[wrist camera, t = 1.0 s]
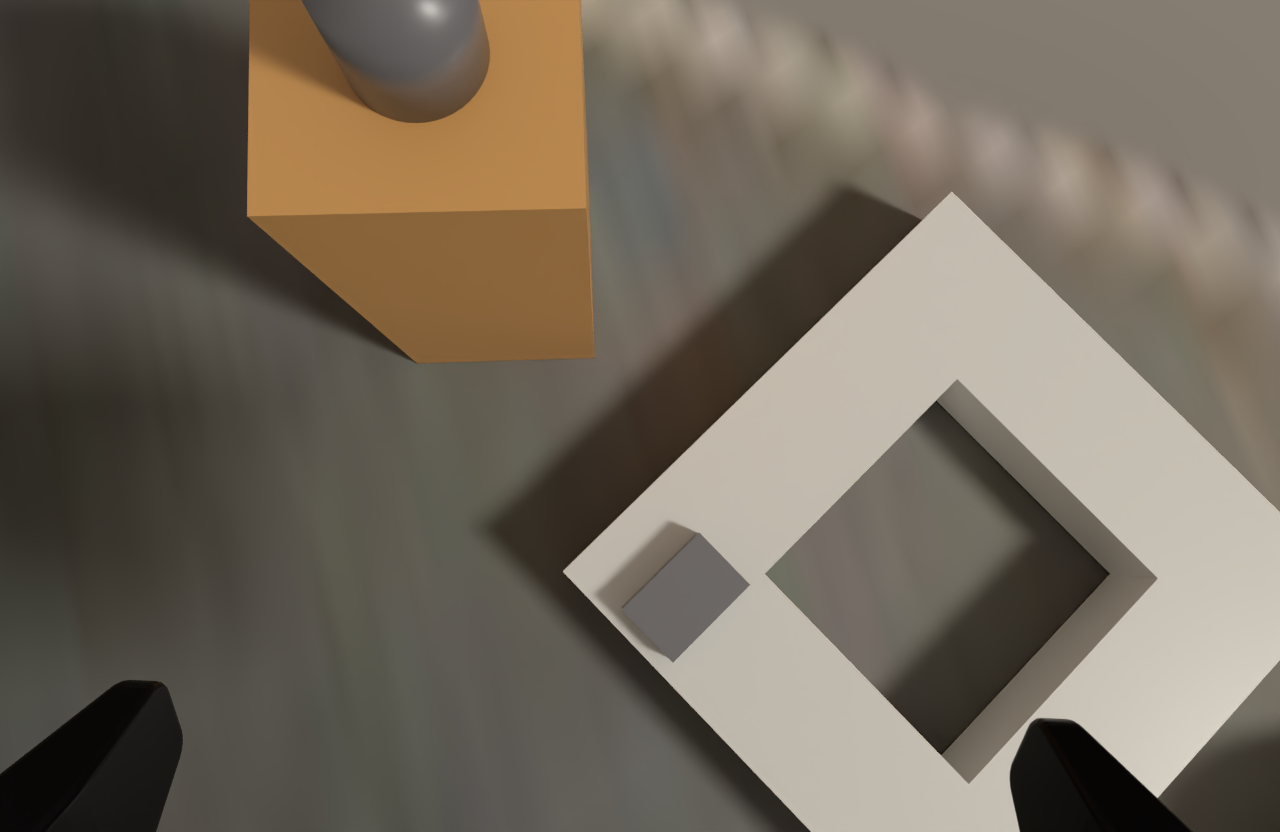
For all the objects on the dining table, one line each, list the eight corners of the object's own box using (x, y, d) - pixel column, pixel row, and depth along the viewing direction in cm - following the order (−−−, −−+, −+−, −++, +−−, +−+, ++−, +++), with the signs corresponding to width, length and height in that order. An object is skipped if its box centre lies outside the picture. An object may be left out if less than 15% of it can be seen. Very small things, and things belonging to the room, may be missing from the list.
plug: (594, 358, 23) (582, 147, 10) (417, 363, 23) (176, 155, 10) (589, 188, 24) (571, -215, 11) (415, 192, 23) (185, -215, 11)
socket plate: (941, 959, 22) (986, 1019, 19) (566, 567, 22) (561, 572, 20) (1286, 576, 23) (1371, 582, 21) (923, 219, 24) (961, 182, 21)
